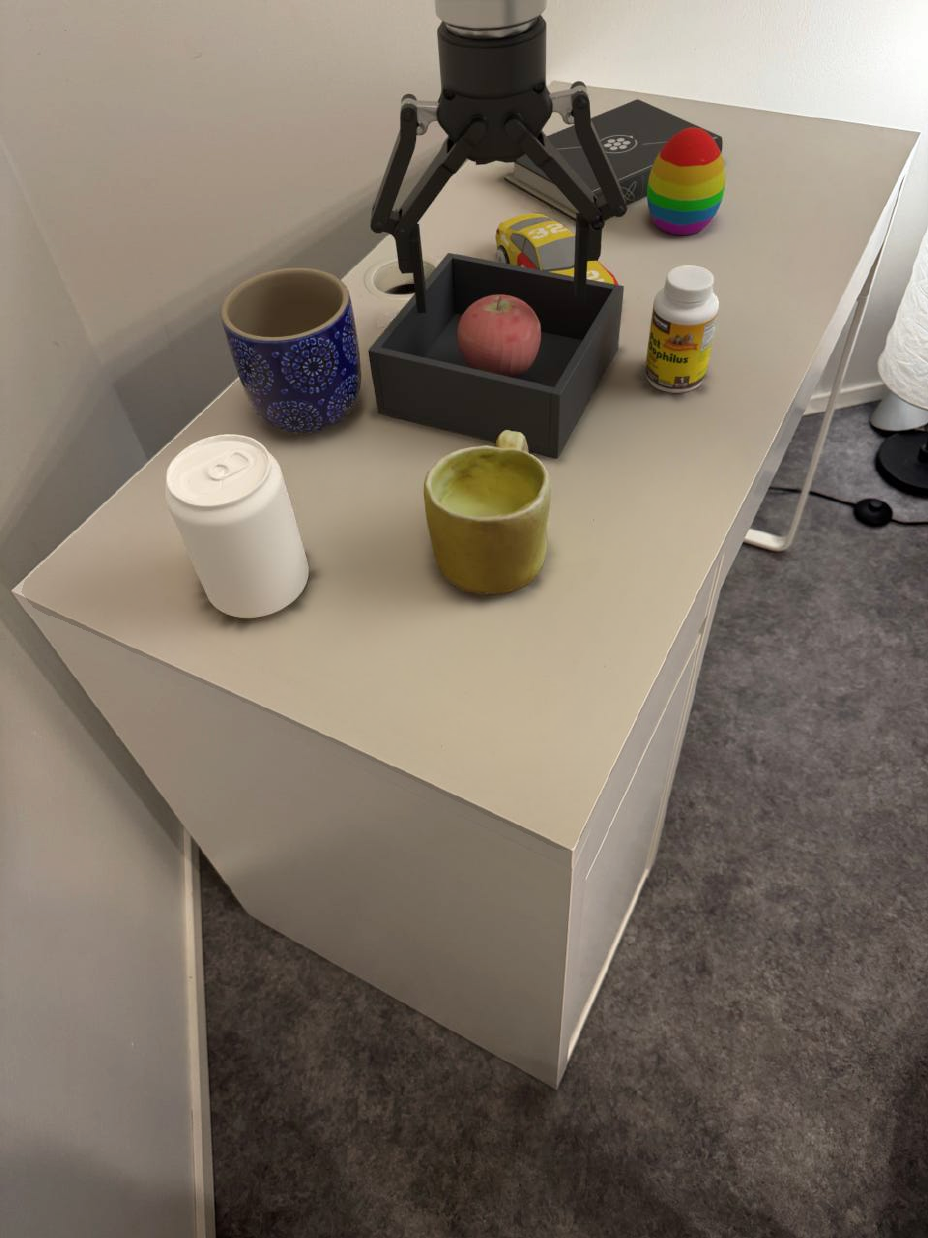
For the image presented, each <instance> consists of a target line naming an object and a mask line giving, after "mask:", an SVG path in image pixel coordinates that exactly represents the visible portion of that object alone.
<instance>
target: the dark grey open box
mask: <svg viewBox="0 0 928 1238" xmlns="http://www.w3.org/2000/svg"><path fill="white" fill-rule="evenodd" d="M425 286H426V313H417V305H416V297H415V293H414V294H413V295H412V296H411V297H410V299H409V300H407V302H406V303H405V304H404V306H403V307H402V308H401V310H399V312H398V313H397V314H396V316H395V317H394V318H393V319H392V320H391V321H390V323H389V324H388V325H387V326H386V327H385V329H384V330H383V332H381V334H380V335H379V336H378V338H377V339H376V340H375V341H374V342H373V343H372V344H371V346H370V347H369V348H368V350H367V354H368V361H369V366H370V367H369V368H370V372H371V379H372V386H373V390H374V397H375V402H376V403H375V404H376V410H377V413H378V414H380V415H385V416H389V417H392V418H396V419H400V420H404V421H408V422H413V423H416V424H420V425H423V426H429V427H431V428H432V427H433V428H436V429H440V430H443V431H447V432H452V433H456V434H460V435H464V436H467V437H470V438H471V437H472V438H475V439H479V440H482V441H487V442H491V443H495V444H496V440H497V439H498V437H499V435H500V434H501V433H502V432H503V431H505V430H509V431H515V432H520V433H522V434H523V435H524V436H525V439H526V442H527V445H528V452H530V453H535V454H538V455H542V456H546V457H550V458H555V459H559V457H560V455H561V454H562V451H563V450H564V448H565V446H566V445H567V443H568V440H569V439H570V437H571V435H572V434H573V432H574V430H575V429H576V427H577V425H578V423H579V421H580V419H581V417H582V416H583V413H584V412H585V410H586V408H587V406H588V404H589V402H590V401H591V399H592V397H593V396H594V394H595V392H596V390H597V388H598V387H599V384H600V383H601V381H602V379H603V377H604V376H605V374H606V372H607V370H608V369H609V367H610V365H611V363H612V361H613V359H614V358H615V356H616V354H617V352H618V350H619V343H620V332H621V321H622V311H623V301H624V292H625V291H624V290H625V286H624V285H619V284H618V285H615V284H611V283H605V282H600V281H595V280H590V279H586V298H585V303H576V298H575V292H574V276H569V275H563V274H558V273H553V272H548V271H542V270H537V269H532V268H526V267H521V266H516V265H511V264H505V263H500V262H497V261H494V260H491V259H490V260H489V259H484V258H478V257H475V256H474V257H473V256H469V255H462V254H458V253H450V252H447V254H446V255H445V256H444V257H443V259H442V260H441V261H440V262H439V263H438V264H437V266H436V267H435V268H434V269H433V271H432V272H431V273H430V274H429V276H428V277H426V278H425ZM491 295H509V296H513V297H516V298H518V299H520V300H522V301H524V302H525V303H526V304H528V305H529V306H530V307H531V308H532V310H533V311H534V312H535V314H536V316H537V318H538V320H539V322H540V326H541V341H540V346H539V350H538V353H537V355H536V358H535V360H534V362H533V363H532V365H531V366H530V368H529V369H528V370H527V371H526V372H525V373H524V374H522V375H521V376H520V377H518V378H511V377H507V376H503V375H498V374H494V373H490V372H485V371H481V370H477V369H472V368H470V367H469V366H468V365H467V363H466V362H465V360H464V358H463V356H462V354H461V352H460V349H459V346H458V334H457V333H458V325H459V322H460V320H461V317H462V315H463V313H464V312H465V311H466V310H467V308H468V307H469V306H470V305H472V304H473V303H474V302H476V301H478V300H480V299H482V298H484V297H487V296H491Z"/></svg>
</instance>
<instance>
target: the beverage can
mask: <svg viewBox="0 0 928 1238" xmlns="http://www.w3.org/2000/svg"><path fill="white" fill-rule="evenodd" d="M276 459H277V458H275V457H274V456H273V454H271V453H270V452H268V449H267V448H266V447H265V445H263V444H262V443H261V442H260V441H258V440H257V439H255V438H252V437H250V436H246V435H241V434H230V433H228V434H218V435H213V436H209V437H205V438H201V439H199V440H197V441H195V442H194V443H191V444H189V445H188V446H187V447H185V448H183V449H182V450H181V451H180V452H179V453H178V454H176V456H174V458H173V459H172V460H171V462H170V463H169V465H168V467H167V470H166V474H165V483H166V484H165V489H164V497H165V502H166V505H167V506H166V507H167V508H168V511H169V512H170V515H171V517H172V519H173V521H174V524H175V526H176V528H177V531H178V533H179V535H180V538H181V540H182V542H183V544H184V547H185V549H186V552H187V553H188V555H189V558H190V560H191V563H192V566H193V567H194V569H195V572H196V574H197V577H198V579H199V581H200V583H201V586H202V588H203V590H204V593H205V594H206V597H207V599H208V601H209V602H210V604H212V606H213V607H214V608H216V609H217V610H218V611H219V612H221V613H223V614H225V615H228V616H231V617H234V618H238V619H239V618H240V619H255V618H262V617H266V616H269V615H272V614H275V613H278V612H279V611H282V610H283V609H285V608H286V607H288V606H289V605H291V604H292V603H293V602H294V601H295V600H296V599H297V598H298V597H300V595H301V594H302V593H303V591H304V590H305V587H306V586H307V583H308V580H309V576H310V567H309V561H308V558H307V555H306V552H305V548H304V544H303V542H302V538H301V534H300V530H299V527H298V524H297V520H296V517H295V514H294V510H293V506H292V502H291V500H290V496H289V493H288V492H289V491H288V488H287V485H286V482H285V479H284V474H283V472H282V471H283V470H282V468H281V466H280V464H279V462H278V461H277V460H276Z"/></svg>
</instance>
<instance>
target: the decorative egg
mask: <svg viewBox="0 0 928 1238" xmlns="http://www.w3.org/2000/svg"><path fill="white" fill-rule="evenodd" d="M722 155H723V154H721V152H720V150H719V147H718V146H717V144H716V142H715V141H714V139H713V138H712V137H711V136H710V135H709V134H708V133H707V132H706V131H704V130H703V129H700V128H696V127H690V128H686V129H683V130H681V131H680V132H678V133H677V134H675V135H674V136H673V137H672V138H671V139H670V140H669V141H668V142H667V143H666V144H665V145H664V147H663V148H662V149H661V151H660V152H659V154H658V156H657V158H656V160H655V162H654V164H653V166H652V169H651V172H650V176H649V180H648V185H647V196H646V202H647V207H648V212H649V214H650V217H651V218H652V220H653V222H654V224H655V225H656V227H658V228H659V229H660V230H662V231H663V232H664V233H665V232H666V233H668V234H671V235H678V236H687V235H692V234H696V233H699V232H700V231H702V230H703V229H705V228H706V227H707V226H708V225H709V224H710V223H711V221H712V220H713V219H714V218H715V216H716V215H717V213H718V211H719V209H720V207H721V204H722V202H723V197H724V194H725V188H726V169H725V163H724V158H723V156H722Z"/></svg>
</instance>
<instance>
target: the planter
mask: <svg viewBox="0 0 928 1238" xmlns="http://www.w3.org/2000/svg"><path fill="white" fill-rule="evenodd" d="M220 318H221V323H222V326H223V327H222V328H223V331H224V334H225V338H226V341H227V345H228V348H229V351H230V354H231V358H232V361H233V363H234V367H235V370H236V373H237V376H238V379H239V381H240V384H241V386H242V390H243V392H244V394H245V396H246V398H247V401H248V403H249V404H250V406H251V407H252V409H253V410H254V411H255V413H256V414H257V415H258V416H259V417H260V418H261V419H262V420H263V421H265V422H266V423H267V424H269V425H270V426H272V427H274V428H276V429H278V430H280V431H284V432H287V433H292V434H313V433H318V432H321V431H325V430H328V429H329V428H331V427H333V426H335V425H337V424H339V423H340V422H342V421H343V419H345V418H346V417H347V416H348V415H349V413H350V412H351V411H352V410H353V408H354V406H355V405H356V403H357V401H358V398H359V395H360V393H361V390H362V389H361V388H362V378H363V377H362V363H361V362H362V361H361V353H360V346H359V337H358V332H357V326H356V321H355V314H354V309H353V303H352V299H351V295H350V292H349V289H348V287H347V286H346V284H345V282H344V281H342V280H341V279H339V278H338V277H337V276H335V275H334V274H331V273H329V272H327V271H324V270H321V269H316V268H309V267H286V268H285V267H284V268H279V269H274V270H269V271H266V272H262V273H260V274H257V275H255V276H252V277H250V278H248V279H246V280H244V281H243V282H241V283H240V284H238V285H237V286H236V287H234V288H233V289H232V290H231V291H230V292H229V293H228V295H226V297H225V298H224V300H223V302H222V304H221V308H220Z"/></svg>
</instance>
